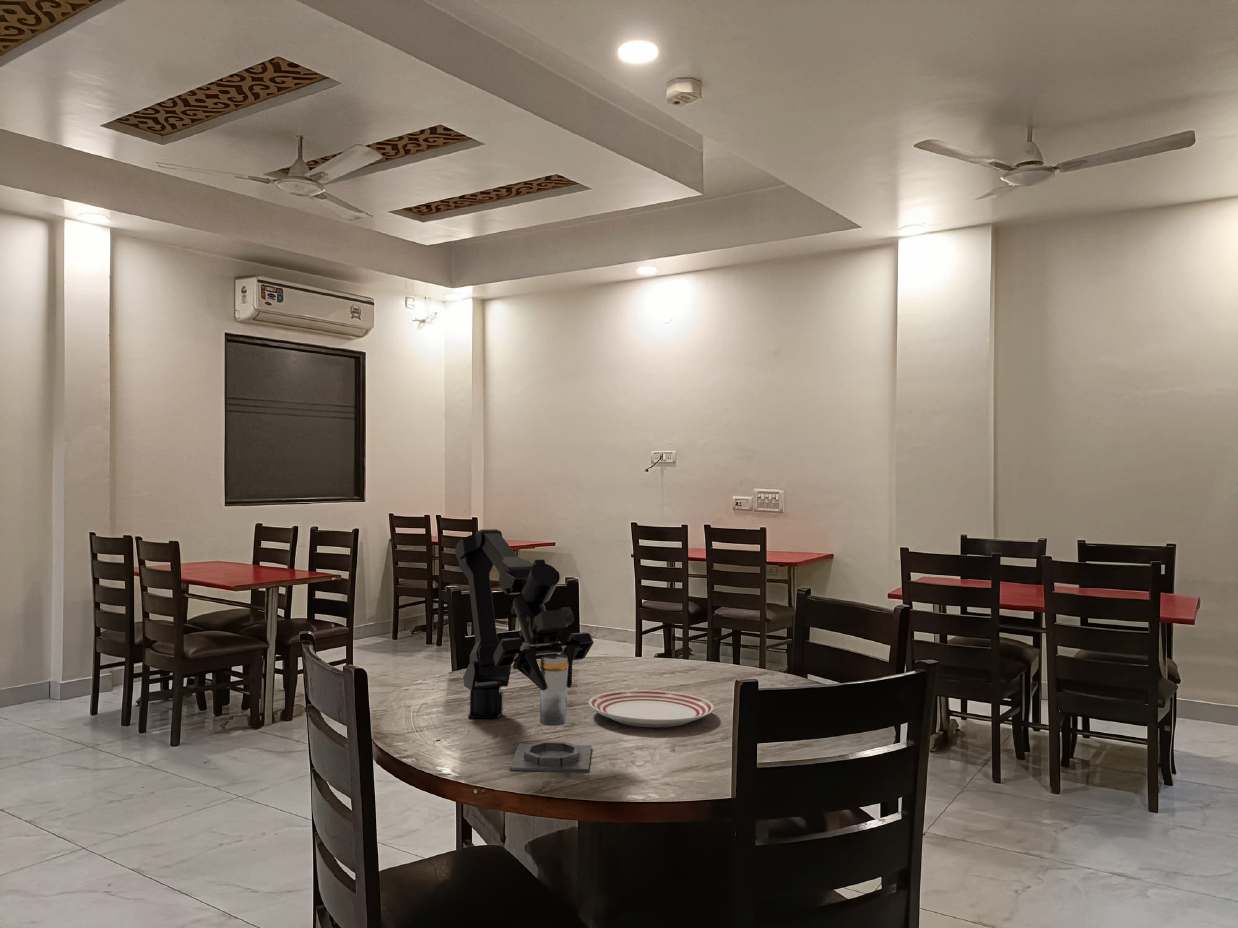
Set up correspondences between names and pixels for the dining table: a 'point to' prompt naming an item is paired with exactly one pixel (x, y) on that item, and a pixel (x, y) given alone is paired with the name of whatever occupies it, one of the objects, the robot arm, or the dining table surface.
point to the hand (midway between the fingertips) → (557, 687)
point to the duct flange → (552, 757)
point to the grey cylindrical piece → (554, 689)
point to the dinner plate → (650, 707)
